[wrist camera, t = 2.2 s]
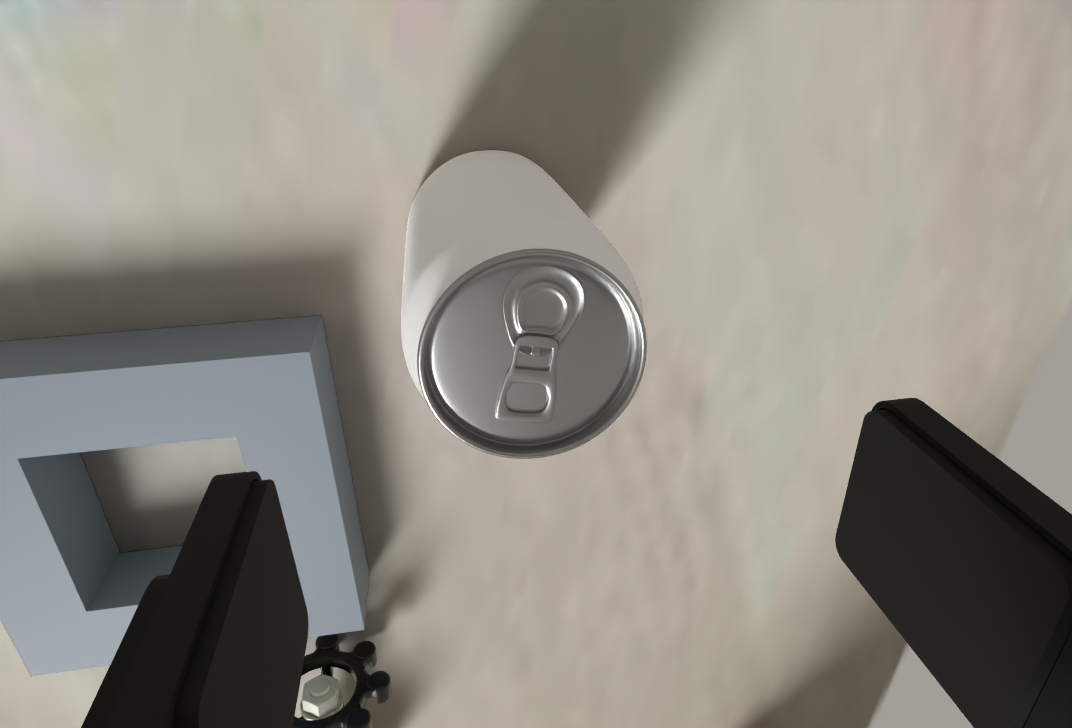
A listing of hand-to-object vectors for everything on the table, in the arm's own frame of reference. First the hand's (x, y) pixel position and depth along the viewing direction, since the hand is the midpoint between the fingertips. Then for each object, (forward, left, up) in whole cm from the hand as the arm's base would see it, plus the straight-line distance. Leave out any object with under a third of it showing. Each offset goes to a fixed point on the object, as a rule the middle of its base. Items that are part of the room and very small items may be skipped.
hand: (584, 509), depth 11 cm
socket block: (+14, +10, -18) cm, 25 cm away
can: (0, 0, -18) cm, 18 cm away
